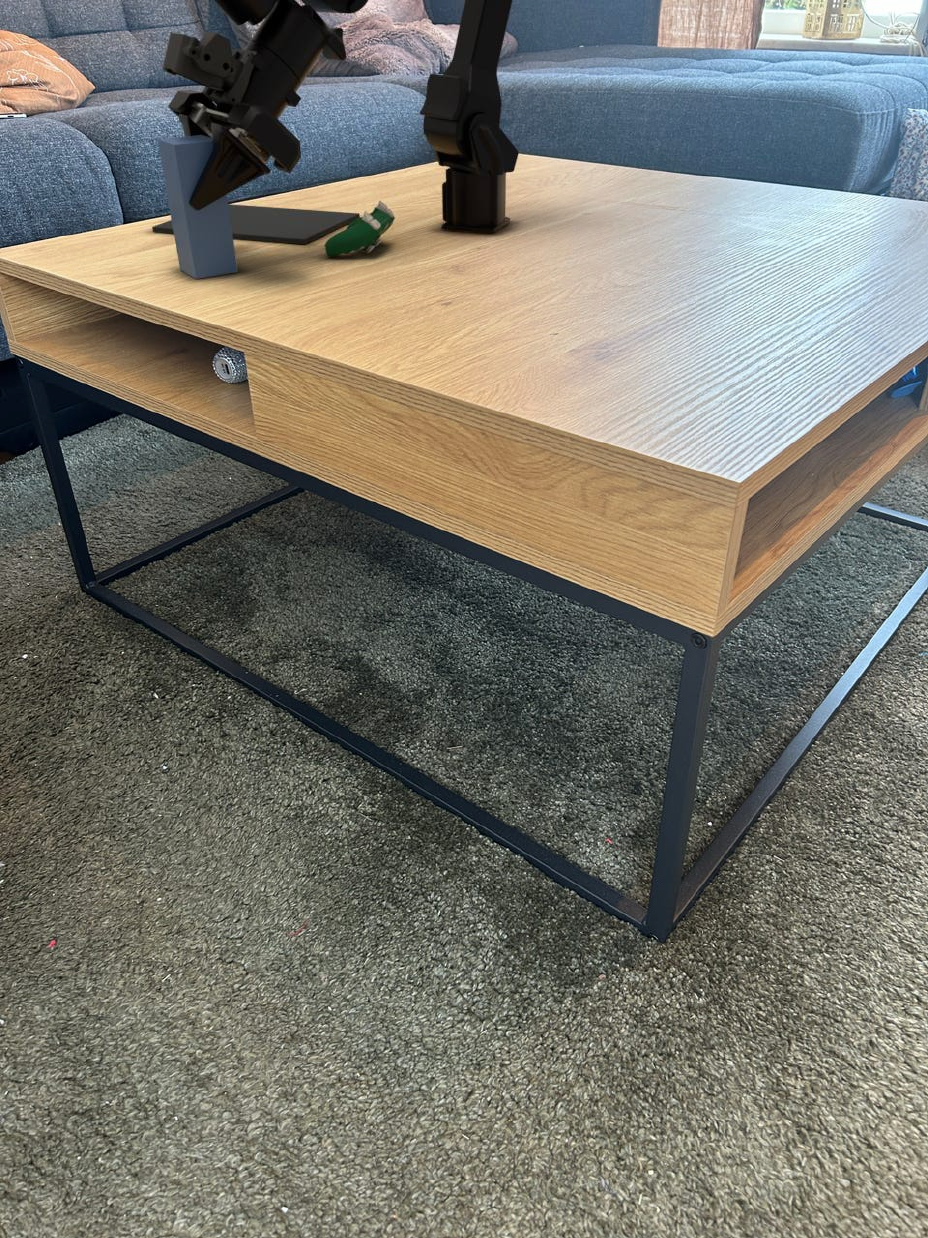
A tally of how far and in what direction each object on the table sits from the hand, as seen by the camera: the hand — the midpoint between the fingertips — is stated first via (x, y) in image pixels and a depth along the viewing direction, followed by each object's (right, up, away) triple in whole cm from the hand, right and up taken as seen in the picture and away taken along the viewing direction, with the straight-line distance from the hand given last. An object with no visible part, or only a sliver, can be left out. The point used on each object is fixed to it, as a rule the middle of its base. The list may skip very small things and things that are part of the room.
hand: (184, 202), depth 93 cm
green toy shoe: (+16, 0, +11) cm, 20 cm away
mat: (+3, +7, +22) cm, 23 cm away
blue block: (+1, -5, +4) cm, 7 cm away
